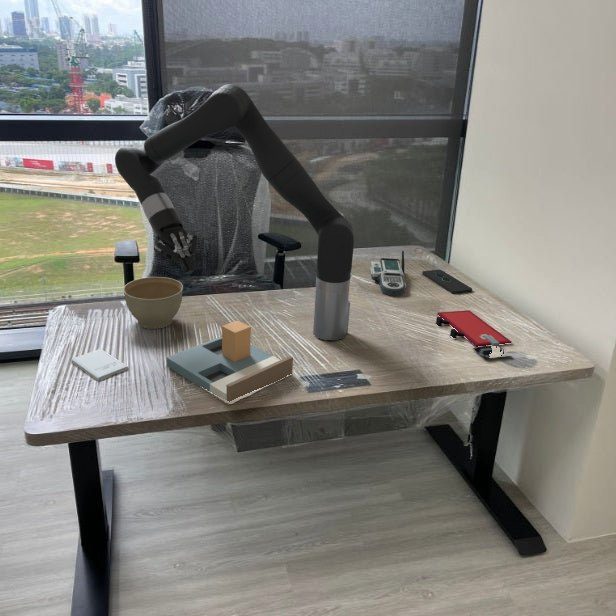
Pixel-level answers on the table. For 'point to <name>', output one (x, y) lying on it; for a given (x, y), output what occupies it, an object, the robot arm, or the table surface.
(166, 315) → the planter bowl
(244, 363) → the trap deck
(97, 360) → the external hard drive
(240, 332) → the orange block
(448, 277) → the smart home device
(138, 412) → the table surface
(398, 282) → the communication device
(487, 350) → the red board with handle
